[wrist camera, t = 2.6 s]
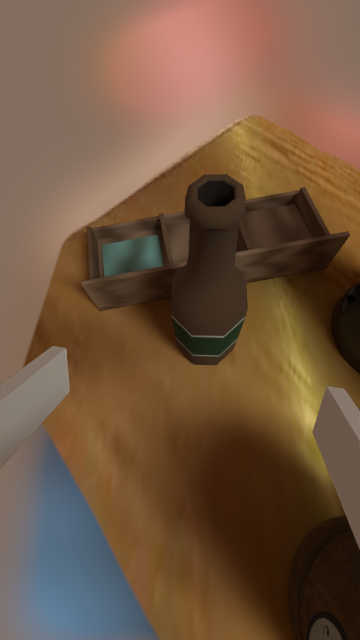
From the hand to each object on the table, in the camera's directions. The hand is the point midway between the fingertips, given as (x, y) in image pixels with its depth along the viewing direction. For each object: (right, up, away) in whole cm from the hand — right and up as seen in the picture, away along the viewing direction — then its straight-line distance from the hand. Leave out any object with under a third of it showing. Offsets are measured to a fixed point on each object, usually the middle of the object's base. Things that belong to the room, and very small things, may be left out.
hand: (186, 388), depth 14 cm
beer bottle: (+3, +1, +23) cm, 24 cm away
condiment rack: (+3, +14, +29) cm, 32 cm away
